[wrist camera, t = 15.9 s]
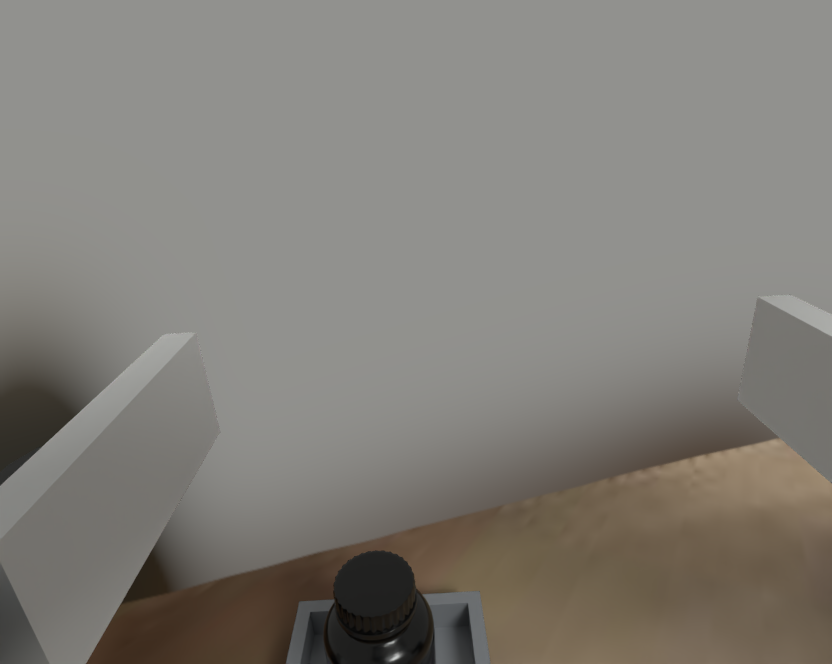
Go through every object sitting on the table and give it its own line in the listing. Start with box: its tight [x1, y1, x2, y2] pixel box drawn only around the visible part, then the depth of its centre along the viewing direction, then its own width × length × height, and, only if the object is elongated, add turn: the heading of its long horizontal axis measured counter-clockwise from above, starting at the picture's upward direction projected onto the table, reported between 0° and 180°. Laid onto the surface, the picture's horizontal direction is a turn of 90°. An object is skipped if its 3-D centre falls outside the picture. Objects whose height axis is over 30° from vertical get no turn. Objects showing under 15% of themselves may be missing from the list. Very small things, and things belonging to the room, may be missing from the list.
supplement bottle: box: [323, 551, 436, 664], centre depth 33 cm, size 7×7×12 cm
